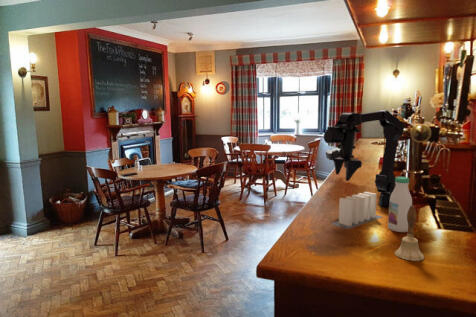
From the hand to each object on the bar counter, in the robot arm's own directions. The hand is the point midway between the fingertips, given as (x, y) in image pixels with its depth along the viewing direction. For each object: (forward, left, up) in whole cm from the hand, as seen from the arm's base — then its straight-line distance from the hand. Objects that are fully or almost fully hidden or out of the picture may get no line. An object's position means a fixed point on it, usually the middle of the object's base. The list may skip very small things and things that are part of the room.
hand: (342, 177), depth 153 cm
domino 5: (-8, +9, -15) cm, 19 cm away
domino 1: (+5, +17, -15) cm, 23 cm away
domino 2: (+2, +15, -15) cm, 21 cm away
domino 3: (-2, +13, -15) cm, 20 cm away
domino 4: (-5, +11, -15) cm, 19 cm away
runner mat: (-2, +13, -15) cm, 20 cm away
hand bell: (-2, +47, -16) cm, 49 cm away
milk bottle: (-12, +25, -16) cm, 32 cm away
